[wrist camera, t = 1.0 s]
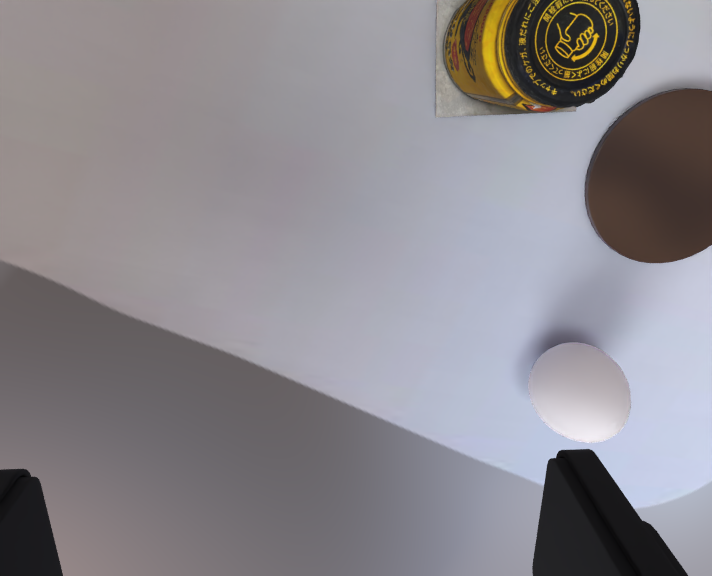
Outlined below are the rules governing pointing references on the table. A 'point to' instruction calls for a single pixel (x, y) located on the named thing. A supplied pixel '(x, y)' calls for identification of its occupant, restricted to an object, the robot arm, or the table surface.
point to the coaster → (655, 179)
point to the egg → (580, 392)
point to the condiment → (530, 54)
